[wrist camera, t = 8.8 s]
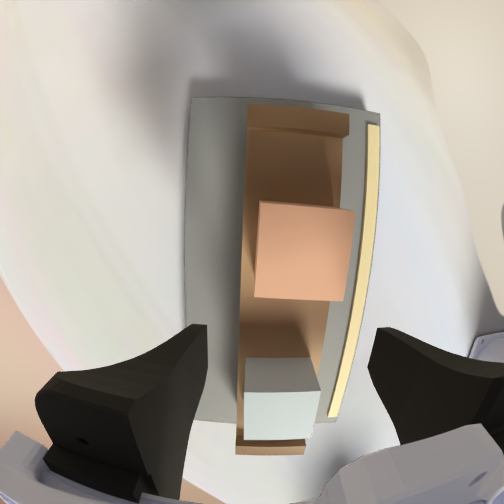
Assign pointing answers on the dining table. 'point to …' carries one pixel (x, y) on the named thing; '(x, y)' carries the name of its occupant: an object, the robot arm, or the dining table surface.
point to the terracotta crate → (302, 251)
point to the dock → (230, 245)
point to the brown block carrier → (266, 189)
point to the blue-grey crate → (280, 398)
